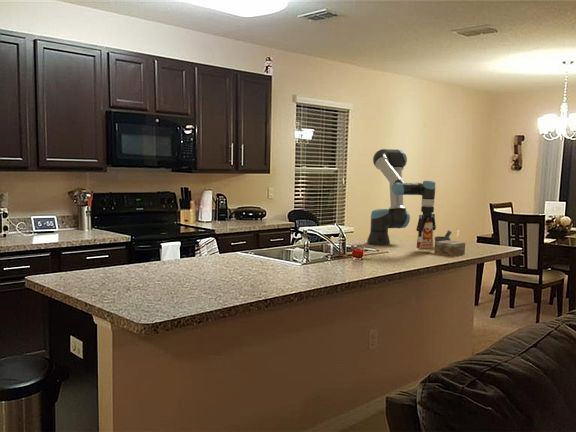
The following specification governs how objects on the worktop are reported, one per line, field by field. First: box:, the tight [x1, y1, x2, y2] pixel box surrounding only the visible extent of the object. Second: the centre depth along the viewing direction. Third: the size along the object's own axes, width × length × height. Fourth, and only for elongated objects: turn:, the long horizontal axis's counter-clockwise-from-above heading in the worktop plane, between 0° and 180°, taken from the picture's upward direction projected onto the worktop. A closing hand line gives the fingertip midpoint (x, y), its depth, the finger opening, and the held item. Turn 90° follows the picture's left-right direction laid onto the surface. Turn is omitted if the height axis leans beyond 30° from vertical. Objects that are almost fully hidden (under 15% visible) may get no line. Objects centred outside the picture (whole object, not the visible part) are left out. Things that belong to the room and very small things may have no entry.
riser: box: [433, 240, 467, 257], centre depth 324 cm, size 13×13×7 cm
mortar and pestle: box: [434, 229, 453, 243], centre depth 347 cm, size 11×9×12 cm
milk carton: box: [416, 220, 435, 252], centre depth 327 cm, size 9×9×20 cm
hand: (425, 241), depth 327 cm, fingers closed on milk carton, 11 cm apart
